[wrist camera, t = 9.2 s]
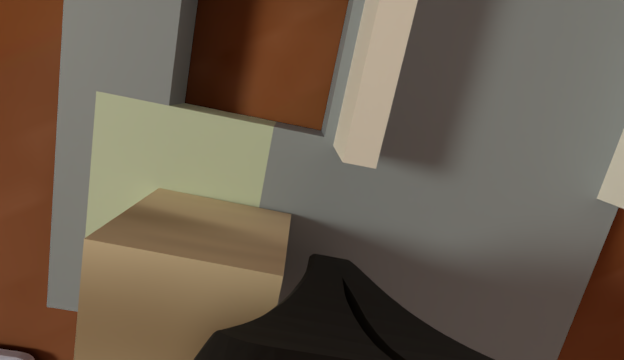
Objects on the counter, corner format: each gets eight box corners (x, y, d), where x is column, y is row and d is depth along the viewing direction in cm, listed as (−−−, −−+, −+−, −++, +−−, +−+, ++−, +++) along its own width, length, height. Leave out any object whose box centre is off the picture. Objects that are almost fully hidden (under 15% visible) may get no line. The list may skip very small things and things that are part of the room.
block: (267, 328, 13) (249, 435, 9) (143, 306, 12) (69, 405, 9) (291, 214, 12) (283, 276, 8) (158, 187, 12) (84, 238, 8)
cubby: (620, 203, 12) (699, 232, 10) (333, 145, 11) (342, 162, 9) (746, -109, 10) (885, -169, 8) (409, -203, 10) (447, -301, 7)
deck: (521, 354, 15) (546, 385, 14) (74, 281, 14) (46, 306, 12) (687, -84, 12) (746, -109, 10) (112, -238, 10) (80, -295, 9)
